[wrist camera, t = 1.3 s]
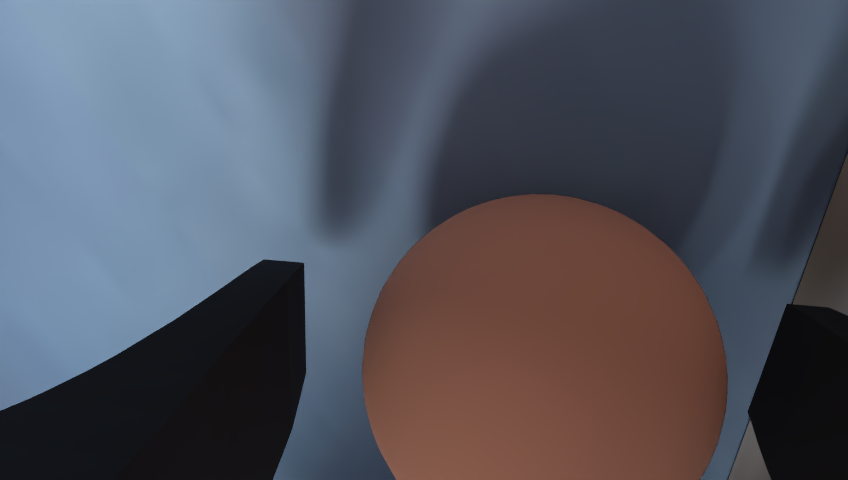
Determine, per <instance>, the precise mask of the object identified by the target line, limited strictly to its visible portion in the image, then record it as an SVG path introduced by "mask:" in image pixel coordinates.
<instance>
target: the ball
mask: <svg viewBox="0 0 848 480" xmlns="http://www.w3.org/2000/svg"><path fill="white" fill-rule="evenodd" d="M362 375H363V390H364V401H365V406H366V410H367V415H368V419H369V422H370V426H371V429H372V432H373V435H374V437H375V440H376V443H377V445H378V448H379V450H380V452H381V454H382V456H383V457H384V459H385V461H386V463H387V465H388V466H389V468H390V470H391V472H392V473H393V475H394V477H395V478H396V480H700V479H701V477H702V475H703V474H704V472H705V470H706V468H707V466H708V464H709V462H710V460H711V458H712V456H713V453H714V451H715V449H716V447H717V444H718V440H719V436H720V432H721V428H722V424H723V420H724V416H725V412H726V402H727V379H728V376H727V365H726V355H725V351H724V346H723V341H722V337H721V334H720V330H719V326H718V323H717V320H716V318H715V316H714V313H713V311H712V309H711V307H710V305H709V303H708V300H707V298H706V296H705V294H704V292H703V290H702V288H701V287H700V285H699V284H698V282H697V281H696V279H695V278H694V276H693V275H692V273H691V272H690V270H689V269H688V268H687V267H686V265H685V264H684V263H683V261H682V260H681V259H680V258H679V257H678V256H677V255H676V254H675V253H674V252H673V251H672V250H671V249H670V247H669V246H668V245H666V244H665V243H664V242H663V241H661V240H660V239H659V238H658V237H656V236H655V235H654V234H653V233H651V232H650V231H649V230H647V229H646V228H645V227H644V226H642V225H641V224H639V223H637V222H636V221H634V220H632V219H630V218H629V217H627V216H625V215H624V214H622V213H619V212H617V211H614V210H612V209H610V208H607V207H605V206H602V205H599V204H596V203H593V202H589V201H586V200H582V199H578V198H575V197H568V196H561V195H554V194H527V195H517V196H509V197H504V198H500V199H495V200H491V201H487V202H485V203H482V204H479V205H476V206H473V207H470V208H468V209H466V210H464V211H462V212H460V213H458V214H456V215H454V216H452V217H450V218H449V219H447V220H446V221H444V222H443V223H441V224H440V225H438V226H437V227H435V228H434V229H433V230H431V231H430V232H429V233H427V234H426V235H425V236H424V237H423V238H422V239H421V240H419V241H418V242H417V243H416V244H415V245H414V246H413V247H412V248H411V249H410V250H409V251H408V252H407V254H406V255H405V256H404V257H403V258H402V259H401V260H400V262H399V263H398V265H397V266H396V268H395V269H394V271H393V272H392V274H391V275H390V277H389V278H388V280H387V281H386V283H385V285H384V286H383V288H382V290H381V293H380V295H379V297H378V299H377V301H376V304H375V306H374V309H373V312H372V315H371V318H370V321H369V325H368V329H367V332H366V337H365V346H364V355H363V364H362Z"/></svg>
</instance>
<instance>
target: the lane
mask: <svg viewBox="0 0 848 480" xmlns="http://www.w3.org/2000/svg"><path fill="white" fill-rule="evenodd" d="M793 304H795V305H807V306H819V307H829V308H832V309H834V310H836V311H838V312H841V313H843V314H845V315H847V316H848V154H847V156H846V159H845V162H844V165H843V167H842V170H841V173H840V175H839V178H838V181H837V184H836V186H835V189H834V192H833V195H832V197H831V200H830V203H829V206H828V208H827V211H826V214H825V216H824V219H823V222H822V225H821V227H820V230H819V233H818V236H817V238H816V241H815V244H814V247H813V249H812V252H811V255H810V257H809V260H808V263H807V266H806V268H805V271H804V274H803V277H802V279H801V282H800V285H799V287H798V290H797V293H796V296H795V298H794V301H793ZM728 480H771V478H770V475H769V473H768V471H767V468H766V465H765V462H764V460H763V457H762V454H761V451H760V448H759V446H758V443H757V439H756V436H755V433H754V430H753V426H752V423H751V420H750V421H749V424H748V427H747V430H746V432H745V435H744V438H743V440H742V443H741V446H740V449H739V451H738V454H737V457H736V460H735V462H734V465H733V468H732V471H731V473H730V476H729V479H728Z"/></svg>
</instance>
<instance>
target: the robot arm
mask: <svg viewBox="0 0 848 480" xmlns="http://www.w3.org/2000/svg"><path fill="white" fill-rule="evenodd" d="M305 375H306V344H305V291H304V263H299V262H287V261H275V260H263V261H261V262H259V263H257V264H256V265H254V266H253V267H251V268H250V269H248V270H247V271H245V272H244V273H243V274H241V275H240V276H238V277H237V278H235V279H234V280H232V281H231V282H230V283H228V284H227V285H225V286H224V287H222V288H221V289H220V290H218V291H217V292H215V293H214V294H212V295H211V296H209V297H208V298H206V299H205V300H203V301H202V302H201V303H199V304H198V305H196V306H195V307H193V308H192V309H190V310H189V311H187V312H186V313H184V314H183V315H181V316H180V317H178V318H177V319H175V320H174V321H172V322H170V323H169V324H167V325H165V326H164V327H162V328H160V329H159V330H157V331H155V332H154V333H152V334H151V335H149V336H147V337H146V338H144V339H142V340H141V341H139V342H137V343H136V344H134V345H132V346H131V347H129V348H127V349H126V350H124V351H122V352H121V353H119V354H117V355H116V356H114V357H112V358H110V359H108V360H107V361H105V362H103V363H101V364H99V365H97V366H95V367H93V368H92V369H90V370H88V371H86V372H84V373H82V374H80V375H78V376H76V377H74V378H72V379H70V380H68V381H66V382H64V383H62V384H60V385H57V386H55V387H53V388H51V389H49V390H47V391H45V392H43V393H41V394H39V395H37V396H34V397H32V398H30V399H28V400H25V401H23V402H21V403H18V404H16V405H13V406H11V407H9V408H6V409H4V410H1V411H0V480H273V477H274V475H275V472H276V470H277V467H278V464H279V462H280V459H281V457H282V454H283V452H284V449H285V446H286V444H287V441H288V438H289V436H290V433H291V430H292V427H293V423H294V419H295V416H296V412H297V408H298V404H299V400H300V396H301V391H302V387H303V383H304V379H305ZM748 413H749V417H750V420H751V423H752V426H753V430H754V433H755V436H756V439H757V443H758V446H759V448H760V451H761V454H762V457H763V460H764V462H765V465H766V468H767V471H768V473H769V475H770V478H771V480H848V316H847V315H845V314H843V313H841V312H838V311H836V310H834V309H832V308H829V307H819V306H807V305H795V304H787V305H786V308H785V311H784V313H783V316H782V319H781V322H780V324H779V327H778V330H777V333H776V335H775V338H774V341H773V344H772V346H771V349H770V352H769V355H768V357H767V360H766V363H765V366H764V368H763V371H762V374H761V377H760V379H759V382H758V385H757V388H756V390H755V393H754V396H753V399H752V401H751V404H750V407H749V410H748Z"/></svg>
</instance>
